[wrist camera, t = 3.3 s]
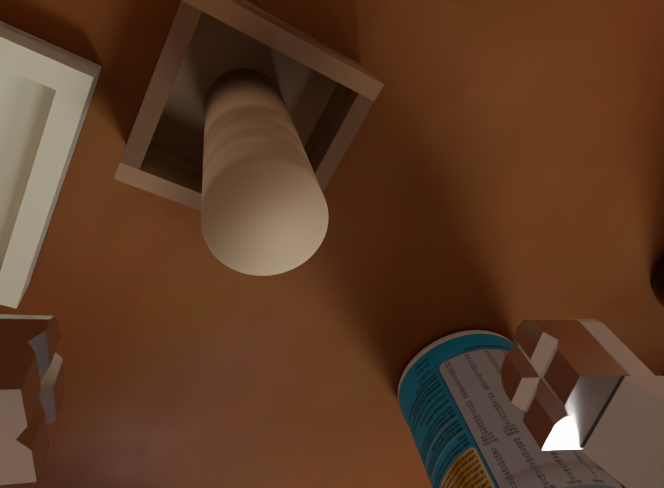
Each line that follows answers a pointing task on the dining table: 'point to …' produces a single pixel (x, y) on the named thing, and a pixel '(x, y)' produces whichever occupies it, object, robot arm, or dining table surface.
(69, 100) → the tray
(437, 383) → the beverage bottle
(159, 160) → the open square box
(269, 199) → the dowel
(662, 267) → the supplement bottle
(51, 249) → the dining table surface
